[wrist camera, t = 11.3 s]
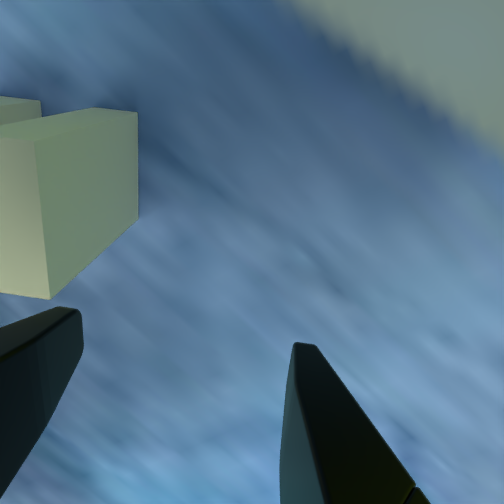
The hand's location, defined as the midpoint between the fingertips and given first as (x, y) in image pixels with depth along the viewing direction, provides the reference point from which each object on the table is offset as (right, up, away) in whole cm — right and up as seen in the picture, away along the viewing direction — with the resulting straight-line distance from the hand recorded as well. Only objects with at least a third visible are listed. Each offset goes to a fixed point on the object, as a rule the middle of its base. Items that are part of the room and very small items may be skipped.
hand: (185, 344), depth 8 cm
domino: (-5, +6, +12) cm, 14 cm away
